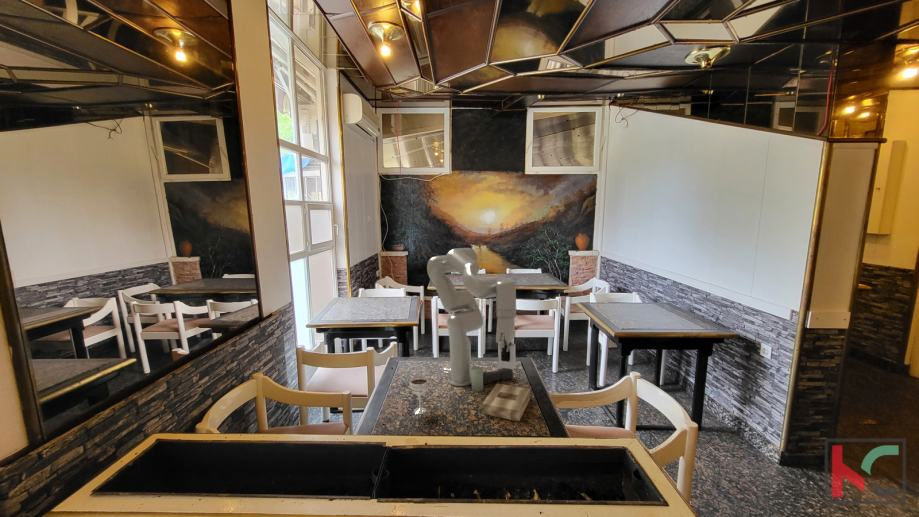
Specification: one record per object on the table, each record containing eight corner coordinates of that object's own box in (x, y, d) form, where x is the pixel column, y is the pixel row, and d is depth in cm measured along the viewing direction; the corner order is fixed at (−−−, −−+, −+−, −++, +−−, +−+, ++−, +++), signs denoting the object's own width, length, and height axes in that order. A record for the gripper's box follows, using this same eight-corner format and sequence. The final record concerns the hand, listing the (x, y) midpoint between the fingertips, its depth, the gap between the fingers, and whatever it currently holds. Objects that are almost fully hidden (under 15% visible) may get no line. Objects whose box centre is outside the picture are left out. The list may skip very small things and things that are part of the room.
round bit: (469, 390, 146) (469, 370, 145) (474, 385, 150) (473, 365, 149) (480, 392, 143) (480, 372, 143) (484, 387, 148) (484, 367, 147)
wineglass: (421, 417, 125) (420, 386, 124) (407, 412, 129) (406, 382, 128) (432, 409, 131) (431, 379, 130) (418, 404, 134) (417, 375, 133)
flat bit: (498, 367, 131) (498, 344, 130) (500, 364, 133) (500, 342, 133) (513, 369, 128) (513, 346, 127) (515, 366, 131) (515, 343, 130)
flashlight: (483, 386, 149) (483, 375, 149) (478, 382, 154) (478, 370, 154) (513, 380, 155) (513, 368, 154) (507, 375, 160) (507, 364, 159)
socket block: (482, 413, 127) (482, 403, 126) (497, 392, 143) (497, 383, 143) (519, 421, 121) (519, 410, 121) (530, 398, 137) (530, 389, 137)
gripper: (503, 307, 138) (503, 351, 139) (489, 316, 123) (490, 365, 125) (521, 308, 135) (521, 353, 136) (509, 318, 120) (510, 368, 121)
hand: (506, 358), depth 130 cm, fingers closed on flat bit, 3 cm apart
